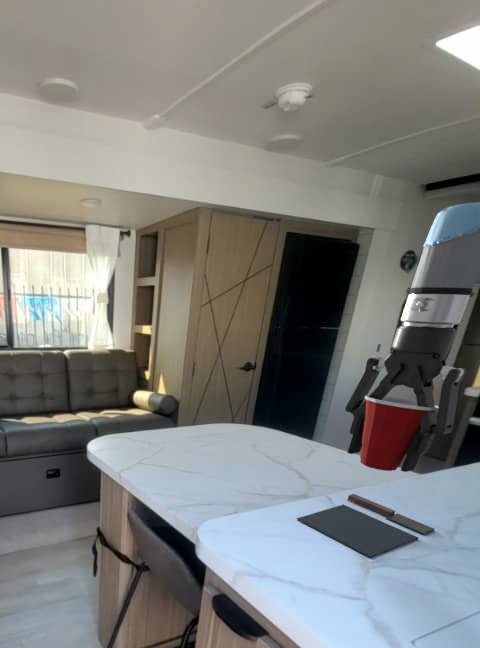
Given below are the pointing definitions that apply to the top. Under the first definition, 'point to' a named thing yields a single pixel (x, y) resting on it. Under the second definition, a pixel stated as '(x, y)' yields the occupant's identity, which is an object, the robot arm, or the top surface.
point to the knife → (391, 515)
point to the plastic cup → (389, 431)
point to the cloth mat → (357, 530)
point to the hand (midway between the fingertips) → (379, 460)
